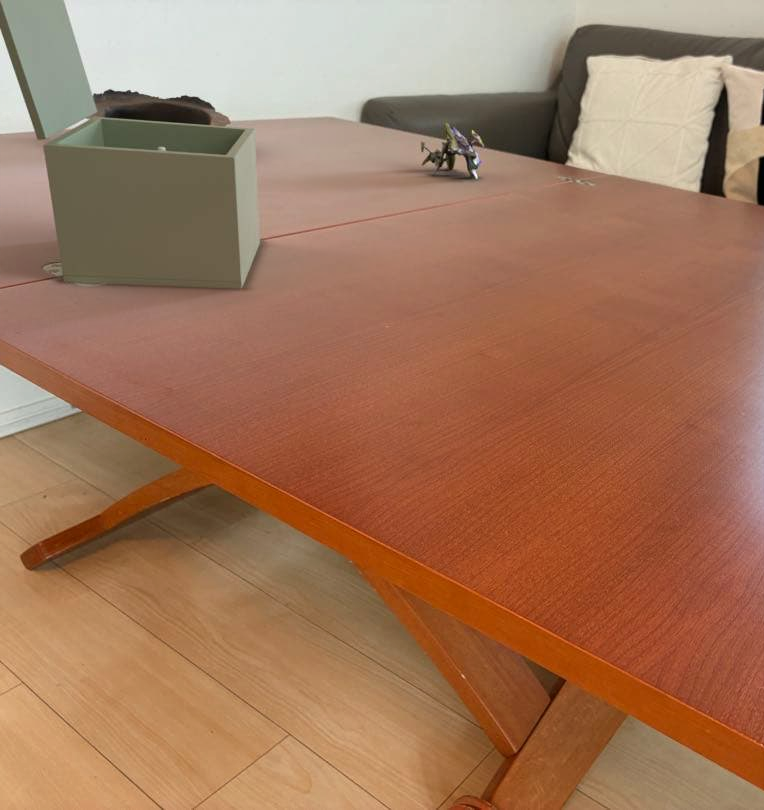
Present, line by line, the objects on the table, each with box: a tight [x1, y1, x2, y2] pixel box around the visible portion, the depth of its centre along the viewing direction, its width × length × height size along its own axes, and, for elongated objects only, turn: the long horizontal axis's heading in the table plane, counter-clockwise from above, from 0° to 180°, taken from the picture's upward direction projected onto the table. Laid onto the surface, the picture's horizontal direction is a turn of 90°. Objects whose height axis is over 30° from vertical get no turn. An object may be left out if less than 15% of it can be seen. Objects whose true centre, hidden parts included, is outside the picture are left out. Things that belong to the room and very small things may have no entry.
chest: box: [42, 117, 261, 290], centre depth 97 cm, size 18×18×14 cm
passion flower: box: [420, 122, 486, 180], centre depth 157 cm, size 11×11×12 cm
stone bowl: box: [85, 88, 231, 127], centre depth 150 cm, size 25×25×9 cm
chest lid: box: [0, 0, 97, 141], centre depth 87 cm, size 19×18×1 cm
